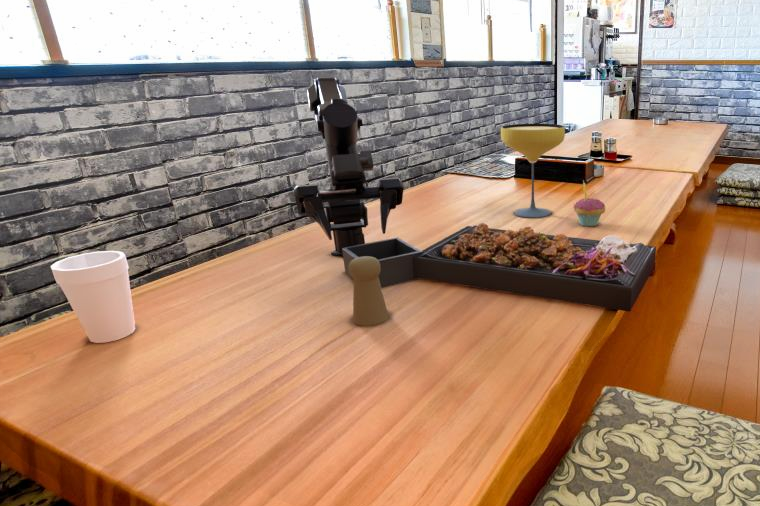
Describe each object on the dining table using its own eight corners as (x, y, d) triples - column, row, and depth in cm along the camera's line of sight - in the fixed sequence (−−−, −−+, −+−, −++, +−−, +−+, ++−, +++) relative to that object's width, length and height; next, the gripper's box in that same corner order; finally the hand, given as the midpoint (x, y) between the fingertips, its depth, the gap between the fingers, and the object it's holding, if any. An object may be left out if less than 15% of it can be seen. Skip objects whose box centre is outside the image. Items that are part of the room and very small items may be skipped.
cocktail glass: (540, 203, 169) (540, 122, 160) (575, 215, 155) (578, 126, 146) (491, 211, 161) (489, 126, 151) (523, 224, 146) (523, 131, 137)
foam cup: (92, 353, 82) (65, 275, 77) (66, 338, 87) (39, 264, 82) (157, 328, 90) (136, 256, 85) (130, 316, 94) (109, 247, 89)
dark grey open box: (345, 272, 113) (341, 247, 111) (400, 260, 120) (397, 237, 118) (366, 291, 104) (363, 264, 102) (424, 276, 110) (422, 251, 108)
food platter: (654, 266, 113) (658, 219, 109) (630, 311, 92) (634, 255, 88) (467, 243, 130) (466, 202, 126) (411, 277, 109) (407, 228, 105)
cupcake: (569, 226, 144) (570, 182, 139) (578, 218, 151) (579, 176, 147) (600, 229, 141) (603, 184, 136) (607, 221, 148) (610, 178, 144)
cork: (379, 327, 89) (372, 265, 85) (346, 324, 90) (337, 263, 86) (394, 312, 94) (387, 253, 90) (362, 309, 96) (355, 251, 92)
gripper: (285, 138, 89) (296, 217, 84) (396, 132, 95) (413, 205, 90) (293, 177, 99) (303, 250, 93) (393, 169, 105) (409, 237, 99)
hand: (357, 235), depth 94 cm, fingers open, 9 cm apart
